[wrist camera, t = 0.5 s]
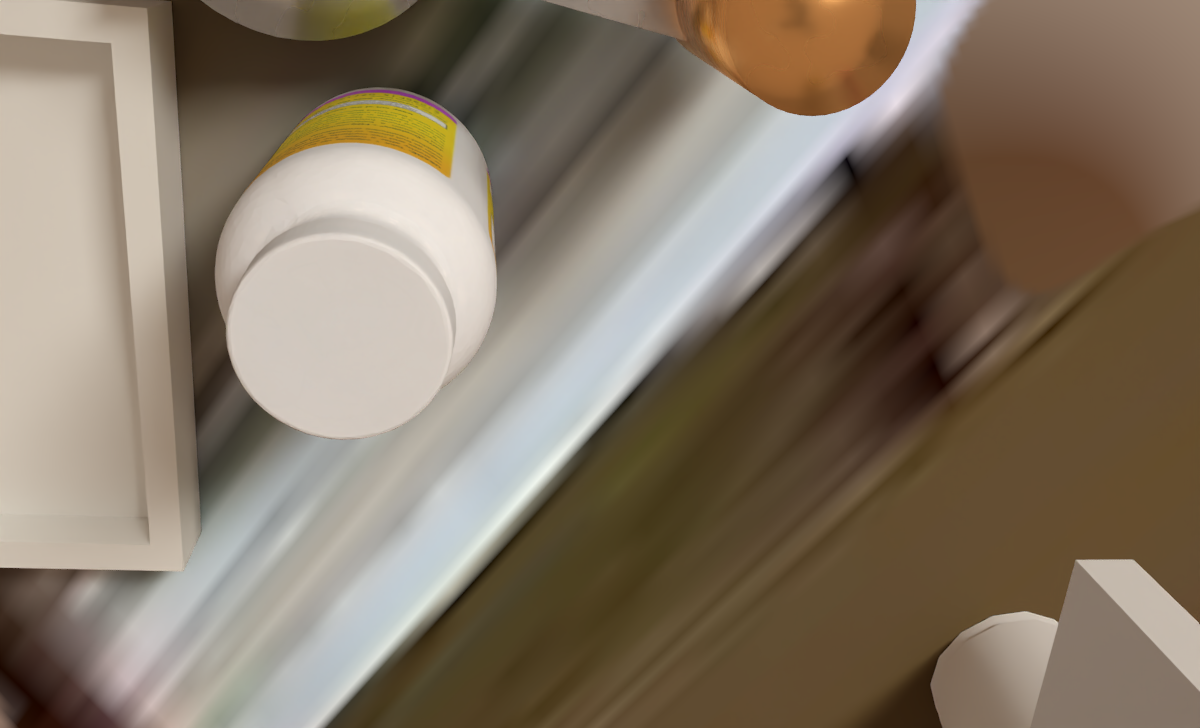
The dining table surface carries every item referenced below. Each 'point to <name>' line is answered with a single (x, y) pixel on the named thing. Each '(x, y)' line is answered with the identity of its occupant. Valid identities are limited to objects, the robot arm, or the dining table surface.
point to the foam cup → (994, 672)
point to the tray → (93, 291)
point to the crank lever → (781, 43)
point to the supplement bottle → (360, 265)
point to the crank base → (310, 16)
